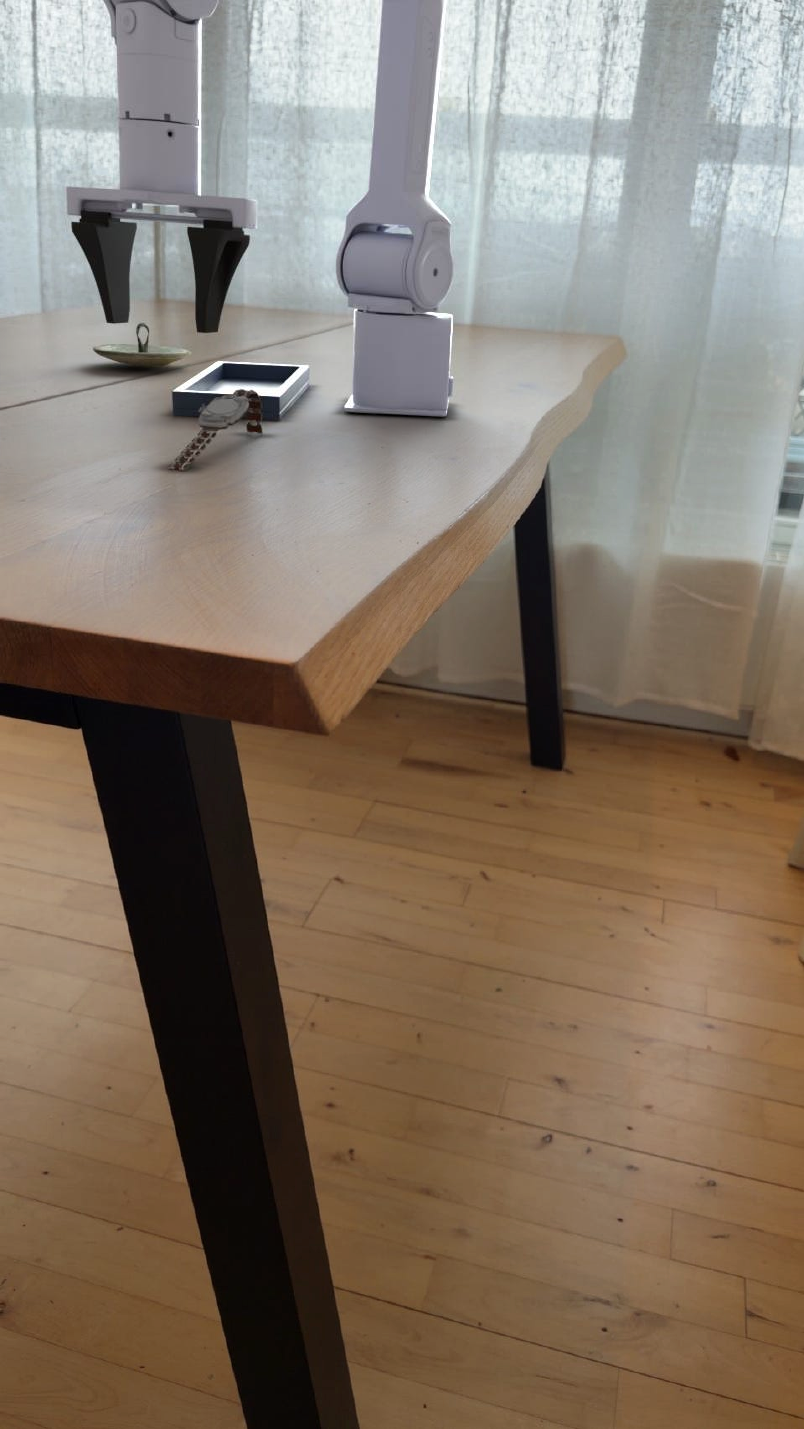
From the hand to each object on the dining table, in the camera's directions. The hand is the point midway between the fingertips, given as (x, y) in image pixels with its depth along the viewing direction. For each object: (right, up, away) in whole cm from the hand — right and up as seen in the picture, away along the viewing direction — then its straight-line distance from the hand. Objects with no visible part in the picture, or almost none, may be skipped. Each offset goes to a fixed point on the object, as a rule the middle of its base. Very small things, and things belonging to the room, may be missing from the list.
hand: (161, 327), depth 86 cm
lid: (-12, +9, +41) cm, 44 cm away
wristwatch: (+4, -9, +3) cm, 10 cm away
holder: (+3, +1, +25) cm, 25 cm away
